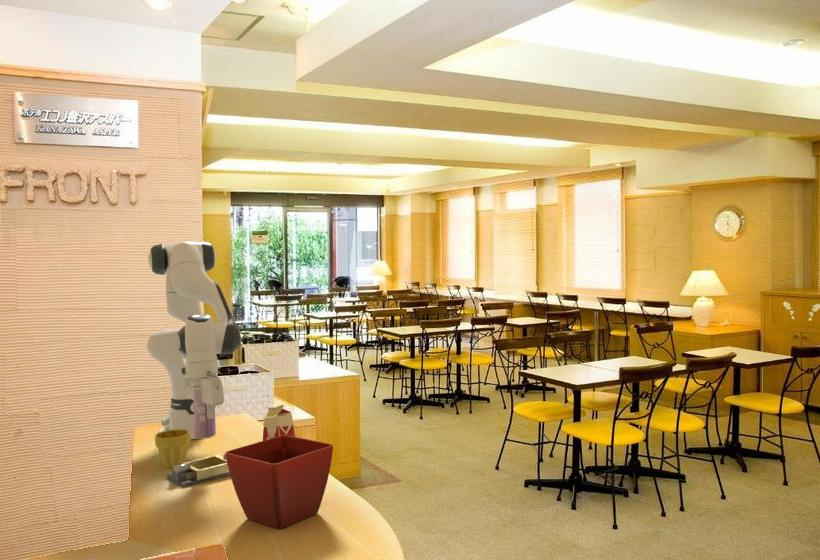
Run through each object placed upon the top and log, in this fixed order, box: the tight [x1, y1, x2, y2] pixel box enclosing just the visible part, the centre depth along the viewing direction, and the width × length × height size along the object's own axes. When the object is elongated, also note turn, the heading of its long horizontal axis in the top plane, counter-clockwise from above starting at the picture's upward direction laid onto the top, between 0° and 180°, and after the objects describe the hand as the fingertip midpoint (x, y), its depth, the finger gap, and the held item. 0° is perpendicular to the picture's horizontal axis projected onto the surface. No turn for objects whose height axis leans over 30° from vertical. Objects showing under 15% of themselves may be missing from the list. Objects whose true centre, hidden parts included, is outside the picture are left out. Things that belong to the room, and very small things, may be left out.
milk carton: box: [262, 404, 297, 441], centre depth 204 cm, size 9×9×20 cm
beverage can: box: [193, 386, 217, 440], centre depth 202 cm, size 6×6×15 cm
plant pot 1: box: [154, 429, 191, 468], centre depth 214 cm, size 10×10×10 cm
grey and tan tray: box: [166, 453, 230, 488], centre depth 203 cm, size 12×21×5 cm, turn 131°
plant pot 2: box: [224, 435, 334, 530], centre depth 168 cm, size 19×19×17 cm
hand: (204, 416), depth 202 cm, fingers closed on beverage can, 5 cm apart
